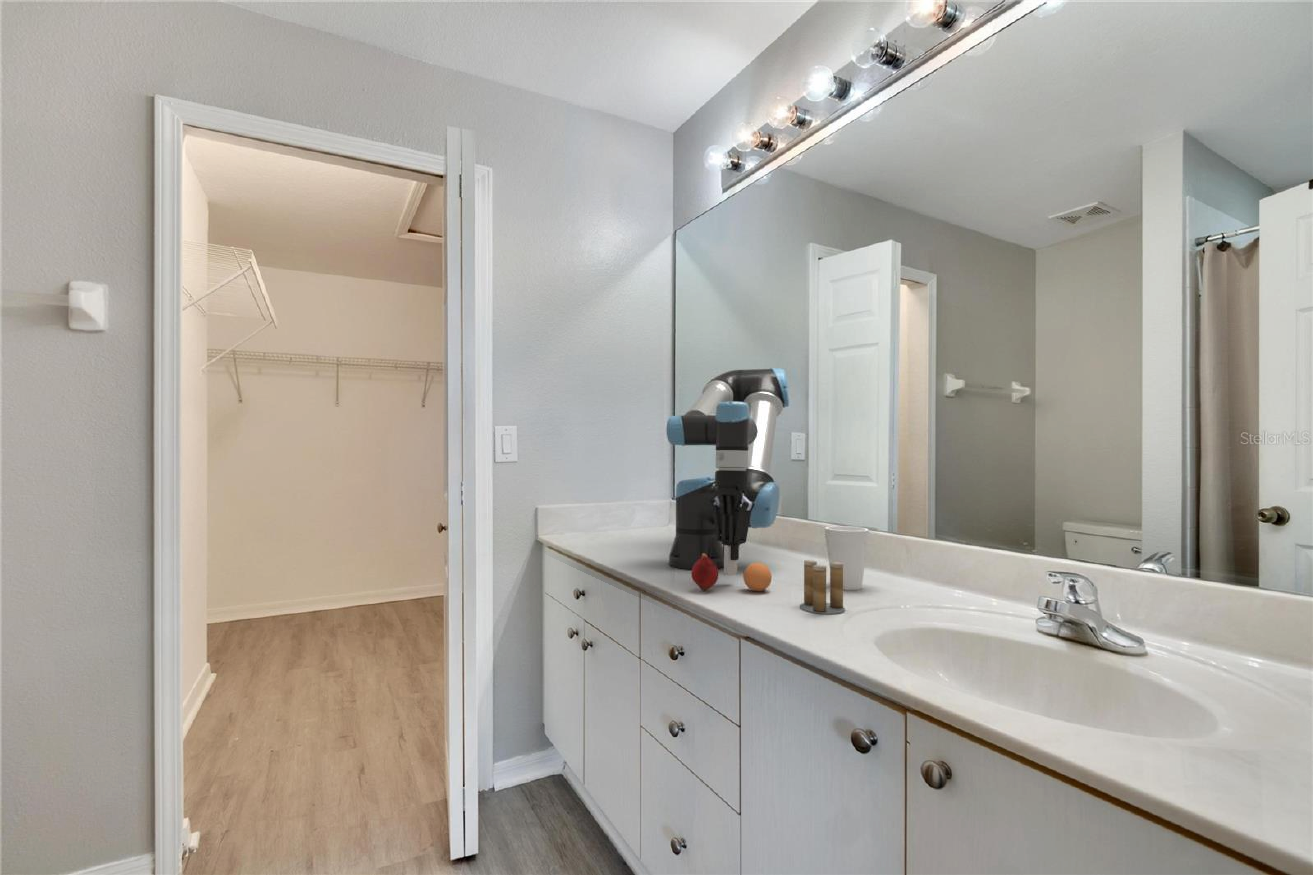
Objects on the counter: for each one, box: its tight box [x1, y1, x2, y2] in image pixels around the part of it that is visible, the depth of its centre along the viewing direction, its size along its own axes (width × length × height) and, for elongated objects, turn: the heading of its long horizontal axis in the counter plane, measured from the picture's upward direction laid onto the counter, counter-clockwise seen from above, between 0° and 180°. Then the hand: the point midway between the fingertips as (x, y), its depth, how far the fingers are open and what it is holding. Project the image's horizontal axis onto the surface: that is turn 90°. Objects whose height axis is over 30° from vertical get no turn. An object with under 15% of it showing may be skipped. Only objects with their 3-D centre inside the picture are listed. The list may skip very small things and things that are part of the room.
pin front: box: [803, 559, 818, 606], centre depth 118 cm, size 2×2×9 cm
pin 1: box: [813, 564, 827, 612], centre depth 113 cm, size 2×2×9 cm
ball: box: [743, 562, 772, 592], centre depth 130 cm, size 6×6×6 cm
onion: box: [690, 553, 719, 592], centre depth 129 cm, size 6×6×8 cm
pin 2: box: [829, 562, 844, 609], centre depth 116 cm, size 2×2×9 cm
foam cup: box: [824, 525, 870, 591], centre depth 135 cm, size 10×9×13 cm
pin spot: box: [799, 602, 846, 615], centre depth 115 cm, size 8×8×1 cm
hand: (730, 574), depth 135 cm, fingers closed
